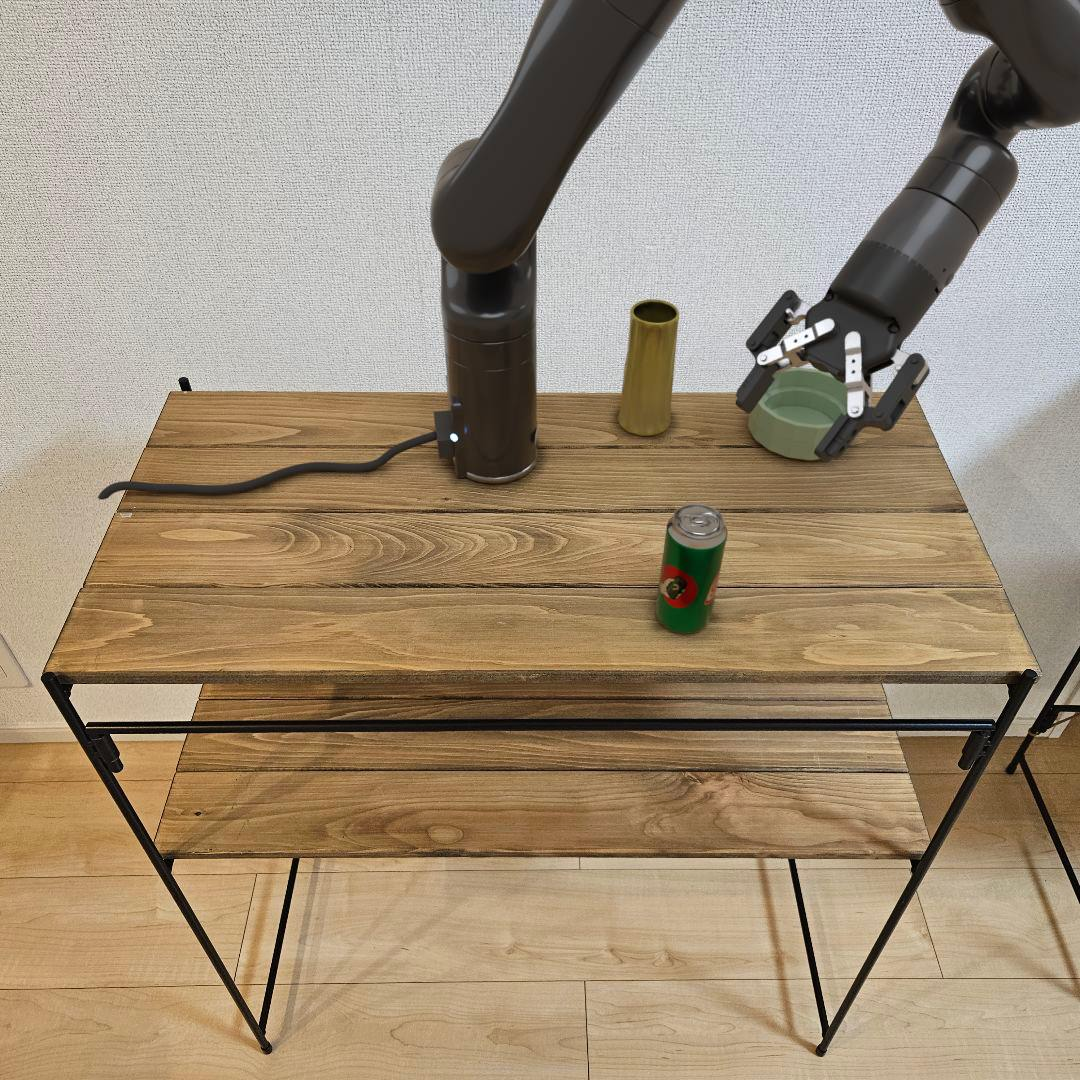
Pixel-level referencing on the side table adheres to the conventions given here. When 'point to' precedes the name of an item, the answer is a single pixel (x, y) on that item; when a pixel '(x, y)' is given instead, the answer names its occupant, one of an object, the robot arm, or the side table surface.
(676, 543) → the soda can
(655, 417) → the vase
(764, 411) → the bowl
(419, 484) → the side table surface
